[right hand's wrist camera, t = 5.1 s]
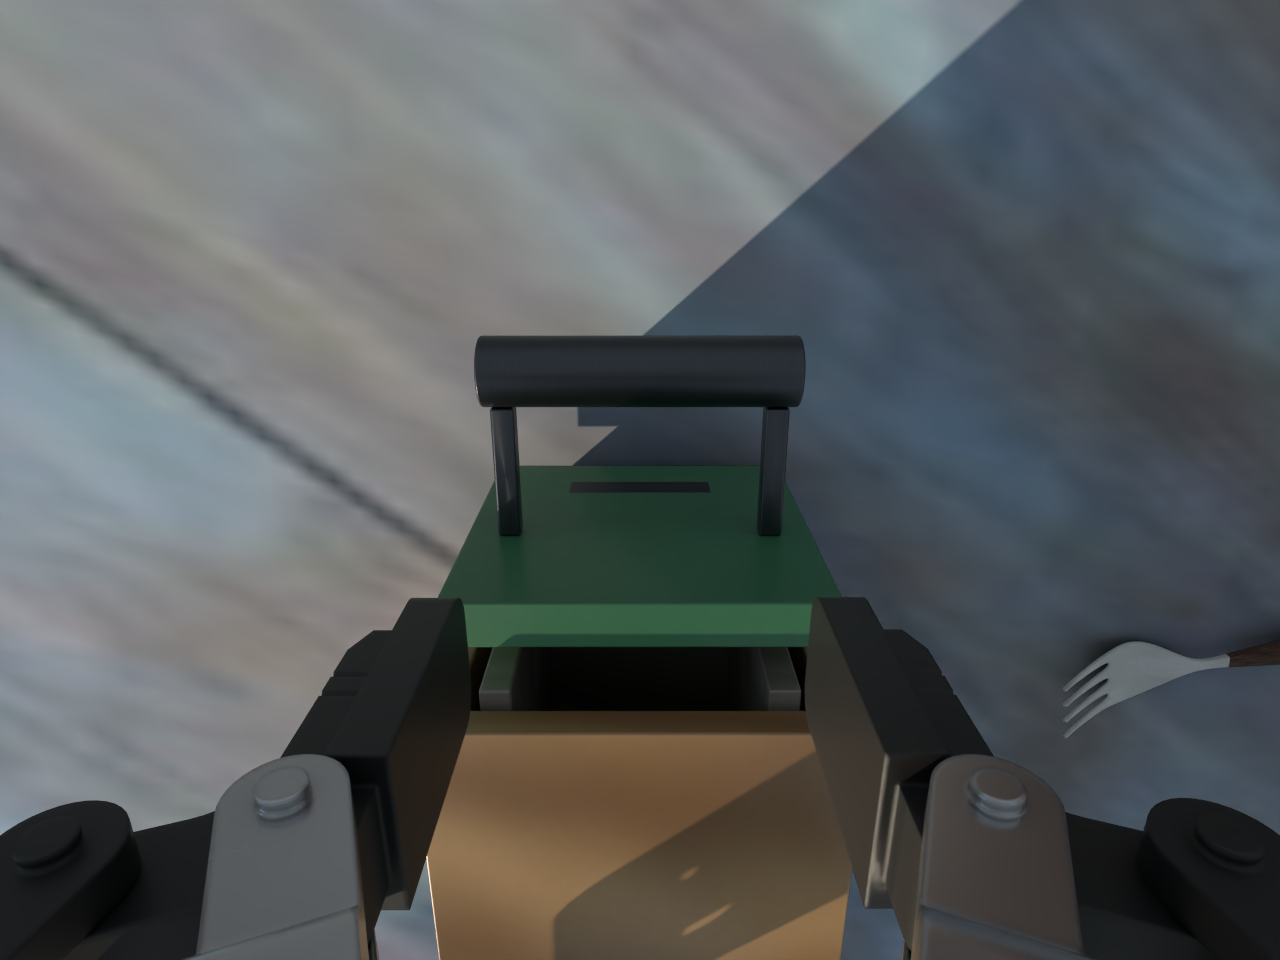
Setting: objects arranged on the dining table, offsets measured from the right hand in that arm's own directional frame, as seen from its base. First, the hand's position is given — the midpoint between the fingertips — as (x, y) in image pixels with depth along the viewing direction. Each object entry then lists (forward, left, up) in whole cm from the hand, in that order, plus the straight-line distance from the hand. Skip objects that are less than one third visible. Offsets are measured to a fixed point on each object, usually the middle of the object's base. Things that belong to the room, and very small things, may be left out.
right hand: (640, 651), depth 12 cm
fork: (+14, +21, -16) cm, 30 cm away
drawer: (+7, -1, -15) cm, 16 cm away
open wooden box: (+13, -2, -16) cm, 21 cm away
